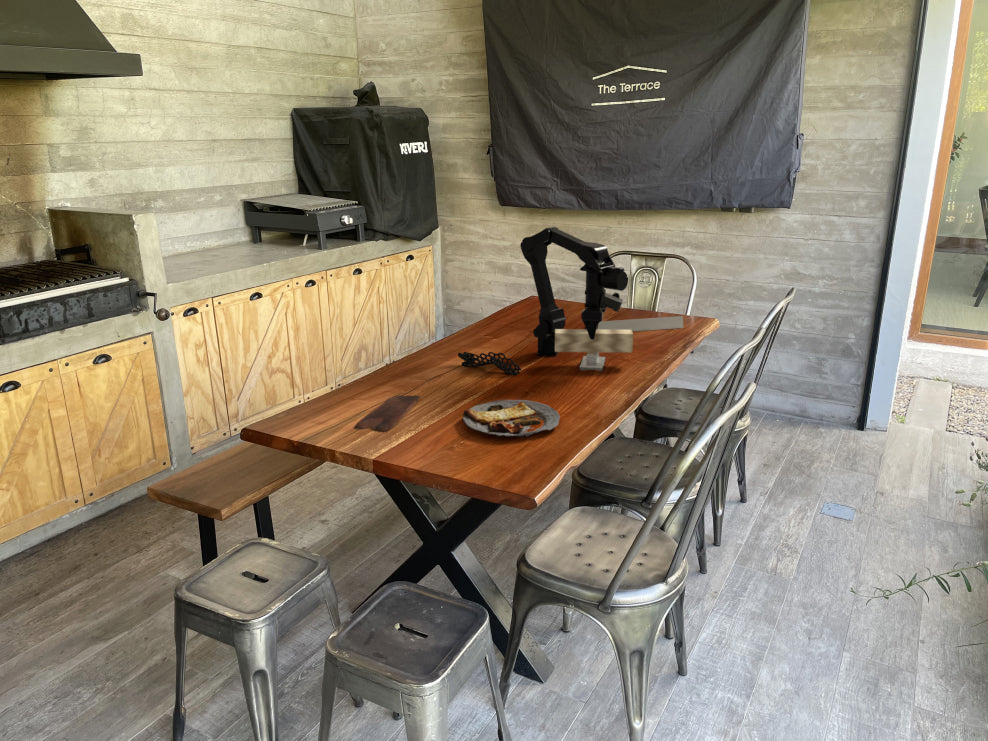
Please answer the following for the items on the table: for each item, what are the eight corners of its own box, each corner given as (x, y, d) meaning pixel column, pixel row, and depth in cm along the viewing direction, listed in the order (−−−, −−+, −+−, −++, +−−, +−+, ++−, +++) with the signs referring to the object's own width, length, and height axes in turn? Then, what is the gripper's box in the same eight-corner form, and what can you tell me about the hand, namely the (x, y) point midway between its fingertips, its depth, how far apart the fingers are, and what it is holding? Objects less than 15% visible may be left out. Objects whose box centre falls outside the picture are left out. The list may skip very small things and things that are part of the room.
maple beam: (554, 351, 235) (555, 333, 233) (554, 347, 240) (555, 329, 238) (632, 352, 233) (633, 333, 231) (630, 347, 238) (631, 329, 236)
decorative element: (523, 373, 232) (523, 355, 230) (514, 378, 228) (514, 359, 226) (463, 362, 244) (463, 345, 242) (454, 366, 240) (454, 349, 238)
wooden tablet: (392, 391, 215) (425, 390, 212) (394, 398, 216) (426, 397, 213) (351, 426, 191) (387, 425, 188) (353, 434, 192) (388, 433, 189)
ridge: (579, 370, 233) (579, 354, 232) (583, 358, 244) (584, 344, 243) (602, 371, 232) (602, 355, 230) (605, 359, 243) (605, 345, 241)
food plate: (483, 447, 179) (483, 434, 178) (449, 416, 199) (449, 403, 198) (575, 432, 188) (575, 419, 187) (533, 403, 209) (533, 391, 208)
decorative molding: (587, 335, 282) (595, 335, 273) (586, 322, 282) (594, 321, 272) (672, 329, 288) (683, 328, 279) (671, 316, 288) (682, 316, 278)
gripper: (619, 293, 220) (617, 344, 225) (623, 281, 237) (621, 328, 242) (581, 292, 222) (580, 343, 227) (588, 280, 239) (587, 327, 244)
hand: (593, 335), depth 235 cm, fingers open, 9 cm apart
